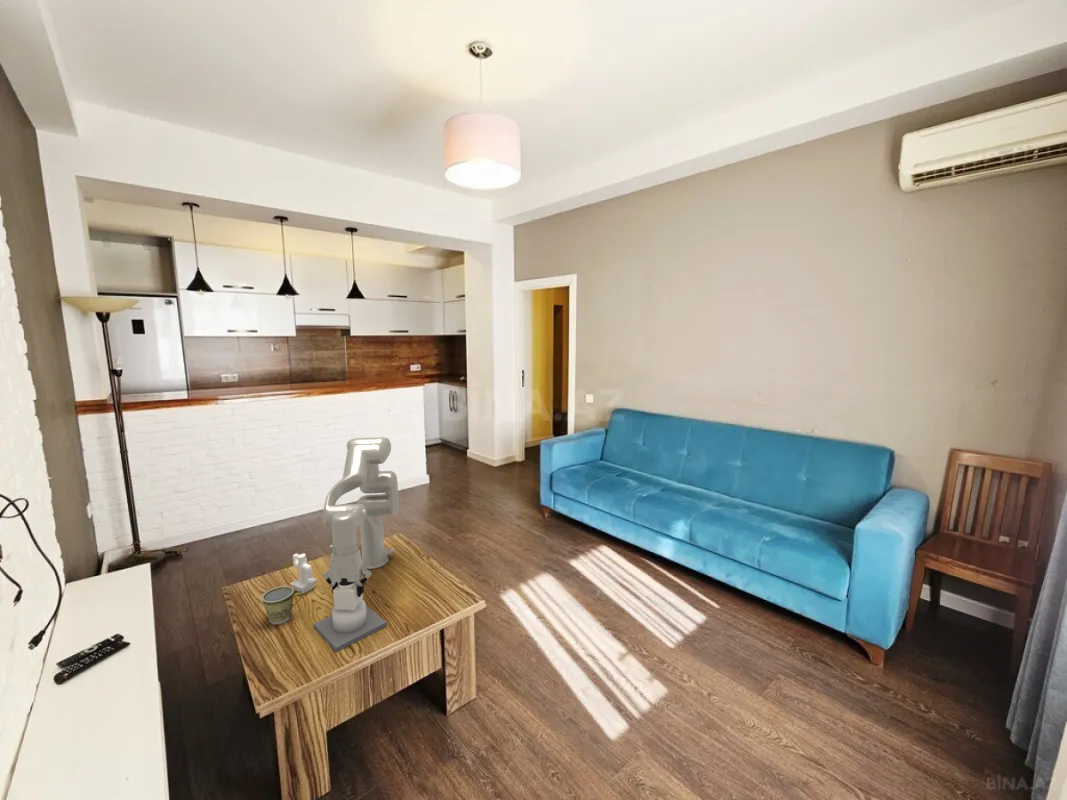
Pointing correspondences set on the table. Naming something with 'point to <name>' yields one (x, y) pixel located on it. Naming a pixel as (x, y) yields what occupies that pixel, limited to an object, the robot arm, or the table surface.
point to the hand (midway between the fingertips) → (348, 594)
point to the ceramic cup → (279, 603)
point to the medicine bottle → (346, 595)
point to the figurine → (303, 574)
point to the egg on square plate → (349, 626)
